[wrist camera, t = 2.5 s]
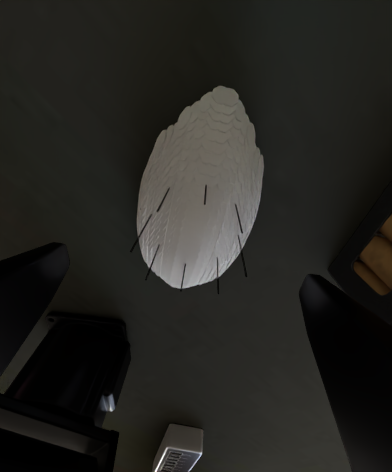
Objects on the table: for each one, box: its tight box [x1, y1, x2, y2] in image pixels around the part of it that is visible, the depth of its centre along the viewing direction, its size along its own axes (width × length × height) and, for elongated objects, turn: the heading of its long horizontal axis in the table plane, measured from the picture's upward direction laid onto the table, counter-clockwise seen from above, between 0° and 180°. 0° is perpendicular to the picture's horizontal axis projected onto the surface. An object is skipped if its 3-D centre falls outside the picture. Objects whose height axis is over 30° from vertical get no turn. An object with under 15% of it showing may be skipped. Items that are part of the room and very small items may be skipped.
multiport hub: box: [152, 424, 203, 472], centre depth 31 cm, size 4×14×2 cm, turn 166°
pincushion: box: [130, 86, 264, 294], centre depth 11 cm, size 12×6×6 cm, turn 167°
